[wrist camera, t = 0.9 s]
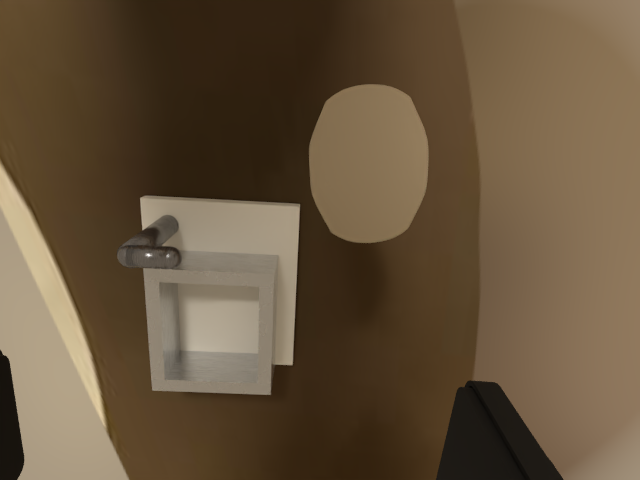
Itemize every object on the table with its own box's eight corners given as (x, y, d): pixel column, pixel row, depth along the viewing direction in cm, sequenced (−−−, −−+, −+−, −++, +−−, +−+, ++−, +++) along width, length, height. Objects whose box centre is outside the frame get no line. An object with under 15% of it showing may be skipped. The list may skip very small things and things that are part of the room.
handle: (374, 93, 30) (430, 81, 16) (375, 181, 32) (425, 240, 18) (308, 97, 30) (305, 87, 16) (313, 184, 32) (313, 245, 18)
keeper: (145, 195, 32) (87, 225, 24) (300, 203, 33) (295, 236, 24) (155, 352, 36) (109, 424, 28) (293, 358, 37) (287, 431, 29)
